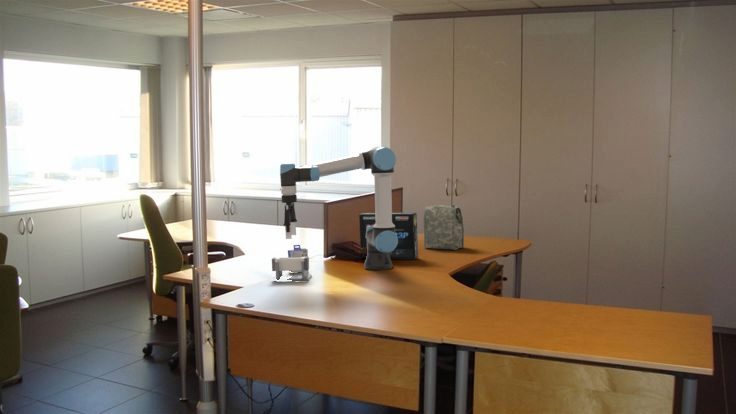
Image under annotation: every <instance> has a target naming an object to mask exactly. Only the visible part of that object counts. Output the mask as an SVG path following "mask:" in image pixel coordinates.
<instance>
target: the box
mask: <svg viewBox="0 0 736 414" xmlns="http://www.w3.org/2000/svg"><path fill="white" fill-rule="evenodd" d="M417 216H418V215H417V212H392V223H393V224H394V225H395V234H396V235H397V238H398V244H397V246H396V248H395V249H394V250H393V251H391V252H389V255H390V258H391V260H411V261H413V260H417V258H419V242H418V241H419V240H418V221H417V220H418V219H417ZM358 217H359V218H358V219H359V220H358V221H359V240H360V241H359V243H360V248H361V247H364V248H367V236H366V228H367V226H373V225H374V224H375V223H376V220H375V212H362V213H359V215H358Z"/></svg>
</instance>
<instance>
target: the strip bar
mask: <svg viewBox="0 0 736 414" xmlns="http://www.w3.org/2000/svg"><path fill="white" fill-rule="evenodd" d="M276 261H279V271H282V272H287V271H288V272H289V271H297V270H302V265H301V261H305V270H309V271H310V257H309V256H308V257H289V258H288V257H273V258H271V268H272V269H271V271H272V272H276V266H275V262H276Z"/></svg>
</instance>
